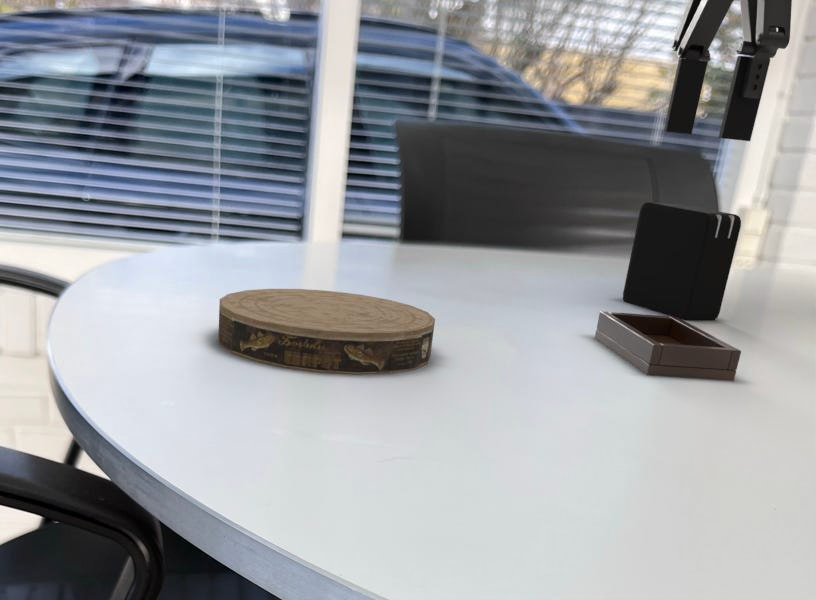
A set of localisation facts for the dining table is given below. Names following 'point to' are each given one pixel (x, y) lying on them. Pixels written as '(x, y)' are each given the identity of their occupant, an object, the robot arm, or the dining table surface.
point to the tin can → (325, 331)
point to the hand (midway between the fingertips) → (704, 136)
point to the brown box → (667, 346)
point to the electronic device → (681, 260)
